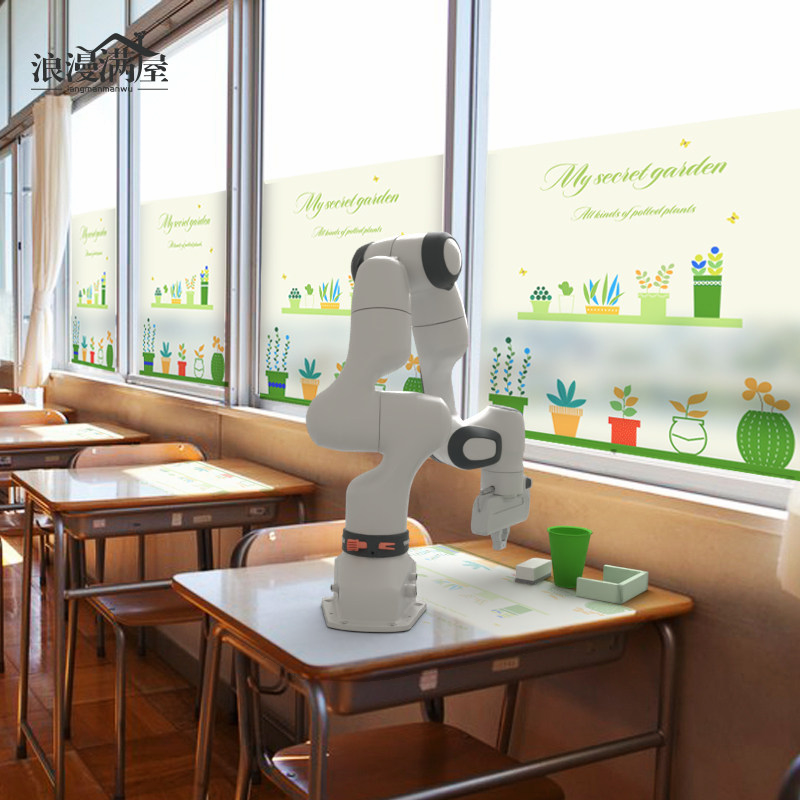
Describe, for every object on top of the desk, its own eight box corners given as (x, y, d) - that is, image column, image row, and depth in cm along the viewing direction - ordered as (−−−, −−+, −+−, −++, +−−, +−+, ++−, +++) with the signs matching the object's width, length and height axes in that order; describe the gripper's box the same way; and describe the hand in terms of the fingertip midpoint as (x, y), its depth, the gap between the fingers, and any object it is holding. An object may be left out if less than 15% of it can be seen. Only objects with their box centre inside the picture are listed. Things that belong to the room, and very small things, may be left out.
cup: (535, 583, 209) (537, 528, 208) (565, 576, 215) (567, 524, 214) (569, 592, 202) (571, 536, 201) (599, 586, 208) (602, 531, 207)
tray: (620, 604, 195) (621, 585, 195) (576, 596, 200) (576, 578, 199) (647, 589, 206) (648, 571, 206) (604, 581, 211) (605, 564, 211)
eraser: (533, 585, 208) (534, 568, 207) (515, 582, 210) (515, 565, 209) (551, 577, 215) (551, 560, 215) (533, 574, 217) (534, 557, 217)
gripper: (492, 492, 205) (490, 561, 207) (536, 478, 223) (533, 542, 224) (464, 488, 209) (462, 556, 210) (509, 475, 226) (507, 537, 227)
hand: (499, 548), depth 217 cm, fingers closed
